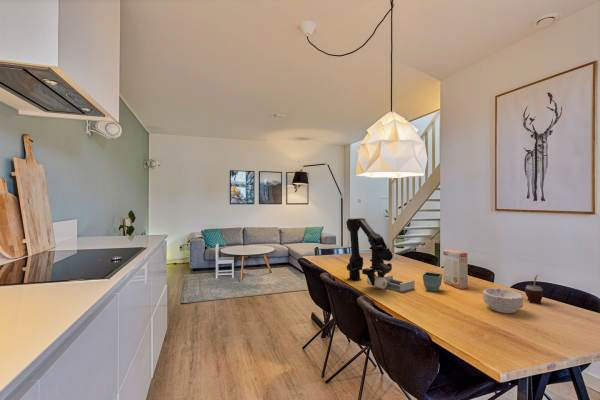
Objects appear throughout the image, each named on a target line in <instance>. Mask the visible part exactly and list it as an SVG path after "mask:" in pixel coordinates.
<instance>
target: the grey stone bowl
mask: <svg viewBox="0 0 600 400" xmlns="http://www.w3.org/2000/svg"><path fill="white" fill-rule="evenodd" d="M482 294H483V296H482V297H483V298H482V300H483V302H484V303H485V304H486V305H488V307H489V309H491V310H493V311H495V312H498V313H504V314H513V313H516V312H518V310H519V309H522V308H523V307H524V303H523V302H524V301H523V300H524V296H523V295H522V294H521V293H519V292H517V291H514V290H513V291H512V290H509V289H504V288H496V287H495V288H493V287H492V288H485V289H483V292H482Z"/></svg>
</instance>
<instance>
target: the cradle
mask: <svg viewBox="0 0 600 400" xmlns="http://www.w3.org/2000/svg"><path fill="white" fill-rule="evenodd" d="M384 278H385V279H386V280H387V286H386V288H385V289H387V290H390V291H393V292H397V293H400V294H403V293H406V292H409V291H414V290H415V288H416V287H415V285H416V284H415V280H414V279H412V280H409V281H405V282H404V281H401V280H399V279H398V280H396V279H394V275H393V274H388V275H384Z"/></svg>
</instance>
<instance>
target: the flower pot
mask: <svg viewBox="0 0 600 400" xmlns="http://www.w3.org/2000/svg"><path fill="white" fill-rule="evenodd" d="M442 281H443V273H435V272H429V271H425V272H424V273H423V274H422V282H423V285H424V287H425V289H426V291H430V292H438V291H439V289H440V288H441V285H442Z"/></svg>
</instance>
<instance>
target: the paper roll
mask: <svg viewBox="0 0 600 400" xmlns="http://www.w3.org/2000/svg"><path fill="white" fill-rule="evenodd" d="M366 283H367V285H369V286H372V284H371V282H370V280H369V278H368V276H367V278H366ZM386 286H387V280H386V279H385V278H382V277H378V275H376V276H375V282H374V286H373V287H375V288H377V289H378V288H379V289H381V290H384V289H386Z"/></svg>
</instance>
